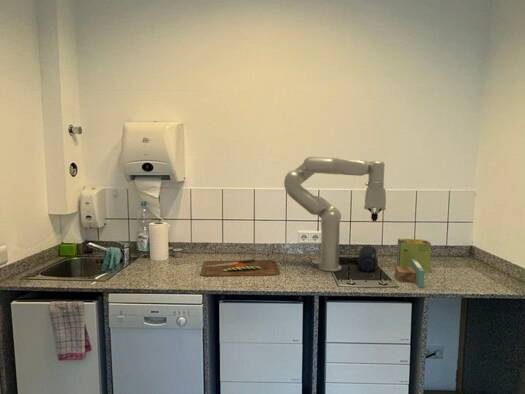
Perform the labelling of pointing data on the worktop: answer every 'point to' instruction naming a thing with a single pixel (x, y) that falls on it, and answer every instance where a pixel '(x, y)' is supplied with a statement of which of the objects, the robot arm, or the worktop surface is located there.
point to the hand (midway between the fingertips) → (374, 220)
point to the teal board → (418, 273)
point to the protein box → (414, 253)
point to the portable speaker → (368, 258)
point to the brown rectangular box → (405, 274)
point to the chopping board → (239, 268)
